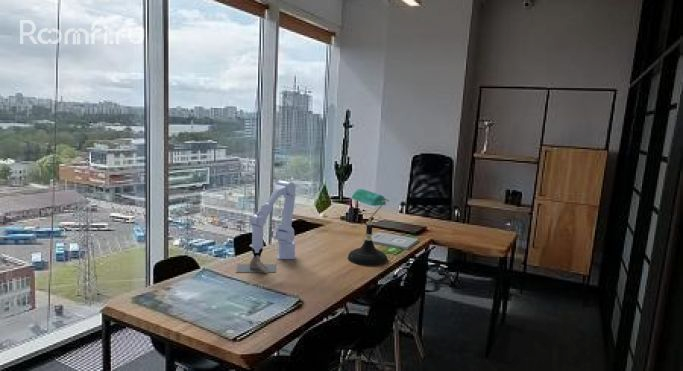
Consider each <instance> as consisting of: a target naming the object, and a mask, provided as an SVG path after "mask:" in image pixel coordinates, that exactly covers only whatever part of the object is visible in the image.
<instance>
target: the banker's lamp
mask: <svg viewBox="0 0 683 371" xmlns="http://www.w3.org/2000/svg"><path fill="white" fill-rule="evenodd" d="M351 199H352V200H355V201H357V202H360V203H363V204H365V205H368V206H372V207H373V206H379V207H378V208H377V209H376V210H375V212H374V213H372V215H371V216H370V217H369V218H368V221H366V232H365V236H366V237H365V239H366V240H365V242H364V241H363V244H362V245H361V246H360V247H359V248H358V247H357V248H355V249H353V250H351V251H350V252H349V253H348V256H347V259H348V261H349V262H351V263H353V264H356V265H358V266H359V265H360V266H367V267H375V266H376V267H377V266H381V265H382V266H383V265H385V264H386V263H387V262H388V257H387V255H386V253H385V252H384V251H382V250H380V249H377V248H376V246H375V244H373V242H372V238H371V236H372V235H373V224H374V223H373V221H372V219H373V217H374V216H375V215H376V214H377V212H378V211H379V210H380V209H381V208H382V207H383V206H386V205H387V202H390V199H388V198H385V196H383V195H382V194H379V193H375V192H372V191H369V190H367V189H363V188H358V189H356V190H354V193H353V195H352V196H351Z"/></svg>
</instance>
